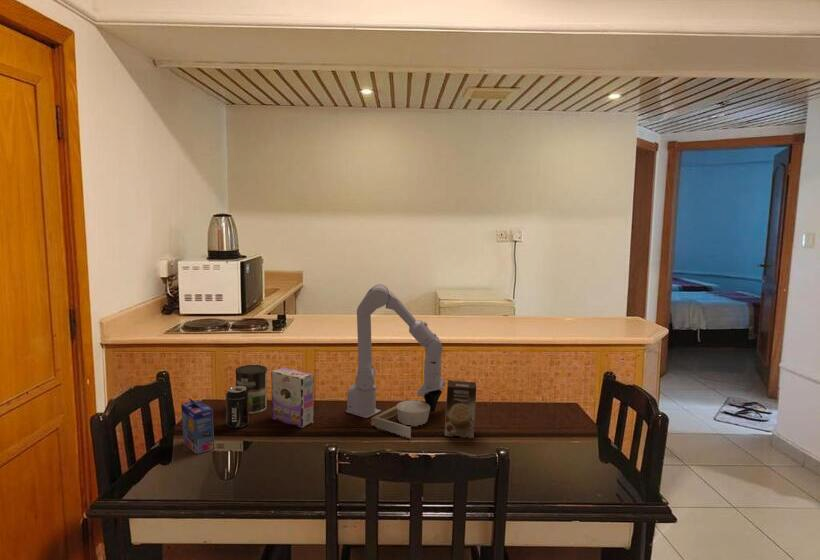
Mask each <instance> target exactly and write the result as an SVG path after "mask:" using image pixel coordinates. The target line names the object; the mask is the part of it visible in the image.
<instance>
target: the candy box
mask: <svg viewBox="0 0 820 560" xmlns="http://www.w3.org/2000/svg"><path fill="white" fill-rule="evenodd" d="M270 372H271V373H270V374H271V379H270V382H271V420H274V421H278V422H280V423H284V424H287V425H291V426H295V427H297V428H300V429H303V428H305V427H307V426H309V425H312V424H314V422H315V418H314V417H315V413H314V411H315V410H314V409H315V406H314V405H315V403H314V401H315V396H314V395H315V394H314V393H315V388H314V387H315V385H314V384H315V380H314V379H315V374H314V373H309V372H304V371H300V370H297V369H292V368H287V367H281V368H277V369H274V370H271V371H270Z"/></svg>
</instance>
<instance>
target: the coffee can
mask: <svg viewBox="0 0 820 560" xmlns="http://www.w3.org/2000/svg"><path fill="white" fill-rule="evenodd" d="M267 371H268V369H267V366H265V365H261V364H246V365H241V366H238V367H236V369H235V386H244V387H246V390H247V391H248V394H249V415H254V414H258V413H262V412H264V411H266V410H267V408H268V407H267V401H268V400H267V398H268V397H267V396H268V395H267V390H268V389H267Z"/></svg>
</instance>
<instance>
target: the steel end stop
mask: <svg viewBox="0 0 820 560" xmlns="http://www.w3.org/2000/svg"><path fill="white" fill-rule="evenodd" d="M375 427H377V428H380V429H383V430H386V431H389V432H391V433H395V434H397V435H400V436H399V437H401V436H402V437H401V438H404V437H406V438H405V439H407V438H410V439H411V437H412V433H411V432H412V426H406V425H403V424H401V423H398V422H395V421H391V420H385V419H382V418H378V417H377V418H376V424H375ZM391 433H390V434H391ZM397 435H396V436H397Z"/></svg>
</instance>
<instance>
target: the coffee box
mask: <svg viewBox="0 0 820 560" xmlns="http://www.w3.org/2000/svg"><path fill="white" fill-rule="evenodd" d="M476 399H477V384H476V382H475V381H465V380H464V381H463V380H453V379H452V380H451V379H450V380H449V379H448V380H447V389H446V404H445V405H446V407H445V420H444V421H445V422H444V436H445V437H453V436H460V437H459V438H466V437H468V439H469V438H470V439H474V438H475V437H474V436H475V434H474V433H475V421H476V420H475V419H476V418H475V417H476V403H477V402H476Z"/></svg>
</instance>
